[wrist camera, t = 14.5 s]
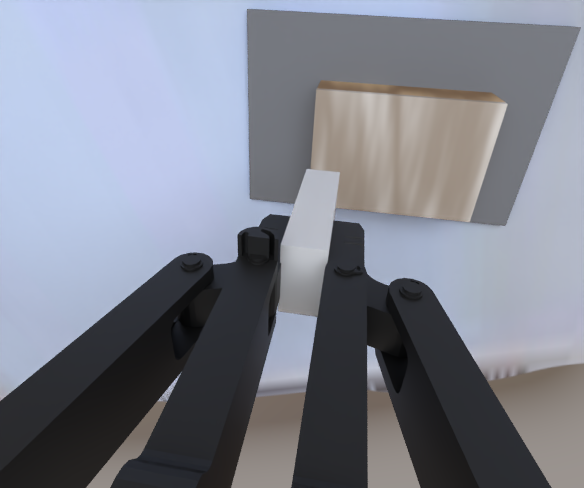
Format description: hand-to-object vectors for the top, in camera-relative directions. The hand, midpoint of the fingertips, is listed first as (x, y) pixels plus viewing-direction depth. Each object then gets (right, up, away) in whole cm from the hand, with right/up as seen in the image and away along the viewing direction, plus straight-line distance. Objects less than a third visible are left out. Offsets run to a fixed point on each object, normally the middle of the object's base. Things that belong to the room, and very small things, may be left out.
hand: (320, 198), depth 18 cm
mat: (+5, +6, +7) cm, 10 cm away
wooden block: (0, +4, +6) cm, 8 cm away
